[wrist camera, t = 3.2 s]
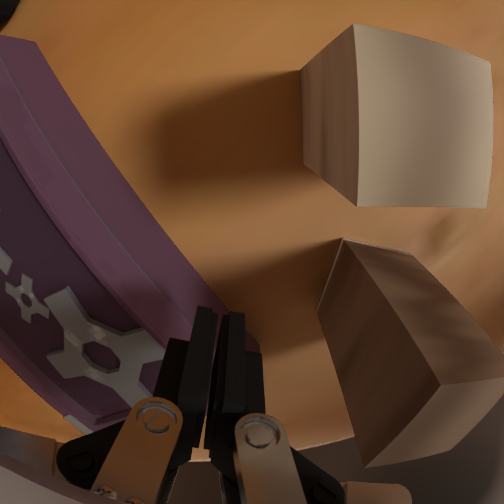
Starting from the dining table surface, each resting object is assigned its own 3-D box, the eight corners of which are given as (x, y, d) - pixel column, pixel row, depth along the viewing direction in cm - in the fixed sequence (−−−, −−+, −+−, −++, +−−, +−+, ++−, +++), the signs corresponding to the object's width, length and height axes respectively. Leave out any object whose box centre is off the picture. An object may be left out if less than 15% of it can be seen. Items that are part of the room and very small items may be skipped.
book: (-56, 195, 15) (-93, 215, 10) (38, 42, 11) (-13, 31, 7) (114, 403, 24) (100, 444, 19) (260, 342, 20) (263, 398, 16)
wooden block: (410, 253, 17) (518, 374, 7) (381, 318, 19) (450, 449, 9) (342, 237, 17) (440, 385, 7) (316, 309, 19) (363, 468, 9)
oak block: (390, 78, 13) (490, 62, 6) (390, 165, 15) (486, 208, 8) (300, 70, 13) (353, 23, 6) (303, 164, 15) (357, 207, 8)
